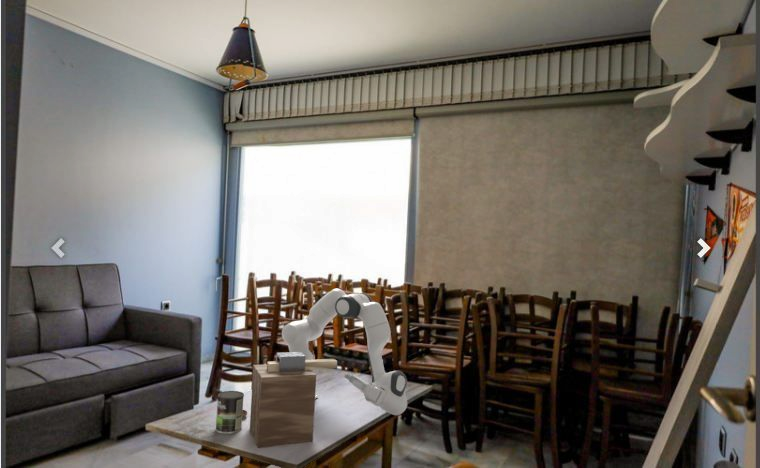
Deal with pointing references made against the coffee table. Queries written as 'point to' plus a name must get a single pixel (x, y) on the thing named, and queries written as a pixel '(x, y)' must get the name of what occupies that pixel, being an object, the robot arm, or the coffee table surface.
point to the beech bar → (307, 364)
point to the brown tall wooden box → (282, 407)
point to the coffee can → (229, 412)
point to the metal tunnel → (291, 361)
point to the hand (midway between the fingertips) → (348, 378)
